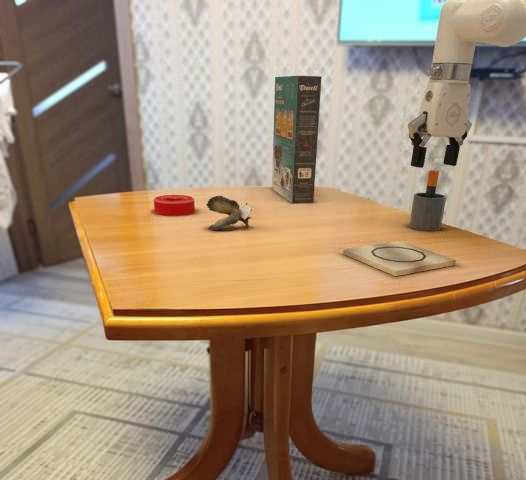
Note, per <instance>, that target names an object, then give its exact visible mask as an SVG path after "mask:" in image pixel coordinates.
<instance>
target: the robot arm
mask: <svg viewBox="0 0 526 480" xmlns="http://www.w3.org/2000/svg"><path fill="white" fill-rule="evenodd" d="M438 17H439V18H438V24H437V31H436V36H435V43H434V48H433V54H432V60H431V66H430V68H429V69H428V74H429V79H428V81H427V83H426V86H425V89H424V92H423V96H422V100H421V103H420V108H419V113H418V115H417V116H416V117H415V118H414V119H412V120H411V121H409V122H408V123H407V130H408V133H409V134H408V137H409V139H410V141H411V143H410V144H411V146H412V154H411V161H410V166H411V167H414V168H419V169H423V168H424V167H425V161H426V155H427V151H428V150H427V149H428V147H426V145H427V144H428V142H429V141H430V139H431V138H432V137H433V138H447V141H448V144H446V146H445V150H444V151H445V152H444V157H443V162H442V163H443V165H445V166H450V167H456V166H457V164H458V159H459V155H460V150H461V147H462V146H463V144H464V141H465V140H466V138H467V137H468V134H469V132H470V130H471V128H472V126H473V123H472V122H471V121H470V120H469V113H470V106H471V105H470V104H471V89H472V88H471V83H469V81H470V76H471V71H472V65H473V61H474V56H475V50H476V46H477V43H484V44H488V45H493V46H496V47H497V46H498V47H502V48H508V47H512V46H514V45H516V44H518V43H520V42H522V41H523V40H524V39H526V0H447V1H445V2H444V3H443V4H442V6H441V8H440V12H439V16H438Z"/></svg>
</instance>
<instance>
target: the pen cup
mask: <svg viewBox="0 0 526 480" xmlns="http://www.w3.org/2000/svg"><path fill="white" fill-rule="evenodd" d="M425 194H426V192H415V193H413V199H412V205H411V211H410V219H409V224H408V226H409V228H410V229H413V230H416V231H422V232H437V231H440V230H441V229H442V224H443V219H444V213H445V208H446V203H447V195H444V194H440V193H436V192H435V198H426V197H425Z"/></svg>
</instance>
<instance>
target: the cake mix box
mask: <svg viewBox="0 0 526 480" xmlns="http://www.w3.org/2000/svg"><path fill="white" fill-rule="evenodd" d="M322 78H323V77H322V76H320V75H285V76H275V77H274V102H273V104H274V107H273V141H272V171H271V172H272V175H271V189H272V190H273V191H274V192H276V193H277V194H279V195H280V196H282V197H283V198H284V199H285V200H286V201H288V202H290V203H291V204H312V203H313V204H314V199H315V185H316V169H317V156H318V155H317V154H318V153H317V152H318V141H319V140H318V139H319V137H318V136H319V122H320V110H321V109H320V108H321V95H322V80H323V79H322Z"/></svg>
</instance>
